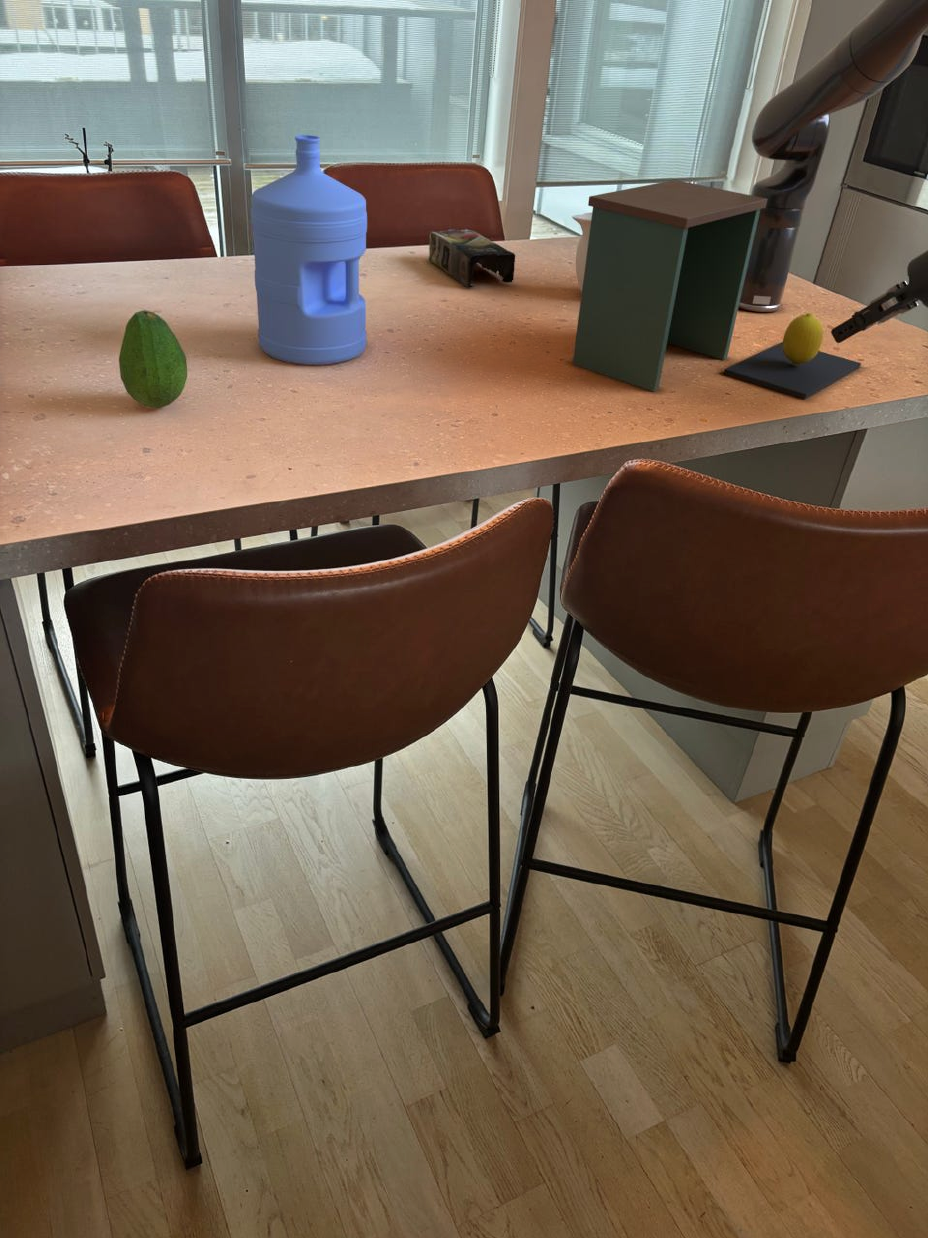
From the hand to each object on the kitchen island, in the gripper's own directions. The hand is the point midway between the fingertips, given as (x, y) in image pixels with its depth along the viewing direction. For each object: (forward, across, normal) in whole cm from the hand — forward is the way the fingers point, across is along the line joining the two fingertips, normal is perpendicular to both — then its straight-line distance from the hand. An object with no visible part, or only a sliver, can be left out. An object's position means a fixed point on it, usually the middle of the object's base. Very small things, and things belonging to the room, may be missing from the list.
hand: (846, 330), depth 137 cm
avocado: (+44, +79, -33) cm, 96 cm away
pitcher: (+39, -9, -28) cm, 48 cm away
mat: (+10, 0, +1) cm, 10 cm away
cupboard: (+21, +14, -10) cm, 27 cm away
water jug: (+47, +50, -36) cm, 77 cm away
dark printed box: (+56, 0, -45) cm, 72 cm away
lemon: (+9, 0, +1) cm, 9 cm away
